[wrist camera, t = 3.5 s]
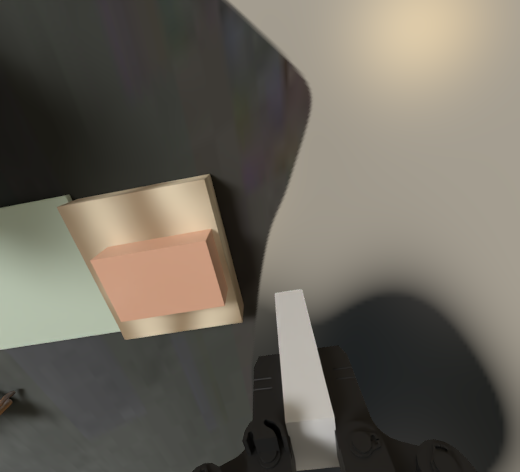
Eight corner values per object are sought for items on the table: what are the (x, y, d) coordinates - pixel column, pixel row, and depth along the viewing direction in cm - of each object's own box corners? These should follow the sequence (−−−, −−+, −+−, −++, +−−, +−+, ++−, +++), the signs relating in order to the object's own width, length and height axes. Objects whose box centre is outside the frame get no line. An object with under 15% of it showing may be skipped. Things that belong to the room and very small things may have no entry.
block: (134, 303, 24) (121, 322, 21) (107, 246, 21) (90, 260, 19) (228, 289, 23) (224, 306, 21) (211, 228, 21) (205, 240, 18)
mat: (-8, 348, 29) (-12, 351, 28) (-105, 227, 23) (-112, 229, 23) (133, 326, 28) (131, 329, 27) (69, 194, 22) (65, 195, 22)
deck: (136, 322, 28) (125, 339, 25) (77, 198, 22) (56, 207, 20) (243, 305, 27) (242, 322, 24) (210, 173, 21) (204, 179, 19)
